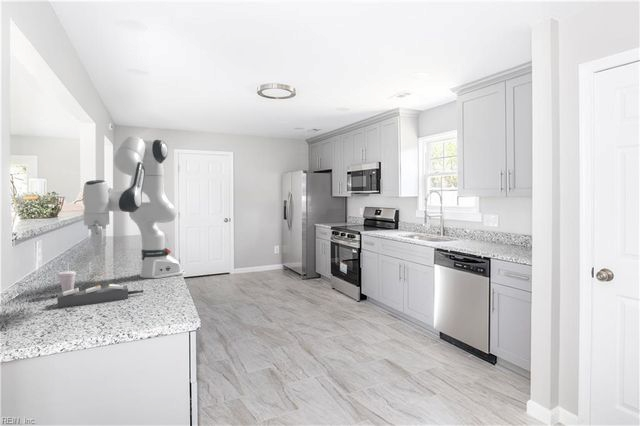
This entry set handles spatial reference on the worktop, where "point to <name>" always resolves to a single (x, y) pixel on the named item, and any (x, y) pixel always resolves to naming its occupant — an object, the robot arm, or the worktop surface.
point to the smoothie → (67, 279)
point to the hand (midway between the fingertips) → (97, 254)
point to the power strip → (94, 296)
